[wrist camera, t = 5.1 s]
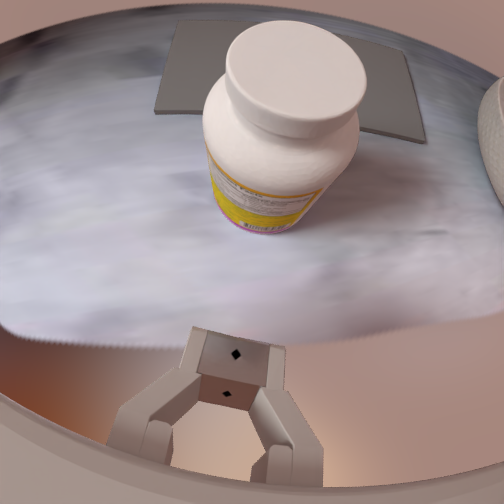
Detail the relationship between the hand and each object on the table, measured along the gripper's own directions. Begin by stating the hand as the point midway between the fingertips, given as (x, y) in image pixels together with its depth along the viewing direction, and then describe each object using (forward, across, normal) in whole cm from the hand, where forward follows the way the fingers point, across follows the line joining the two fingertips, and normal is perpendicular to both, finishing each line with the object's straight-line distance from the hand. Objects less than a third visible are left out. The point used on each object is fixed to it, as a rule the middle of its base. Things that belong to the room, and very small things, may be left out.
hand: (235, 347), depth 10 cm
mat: (+22, -1, -8) cm, 23 cm away
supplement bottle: (+14, 0, +1) cm, 14 cm away
